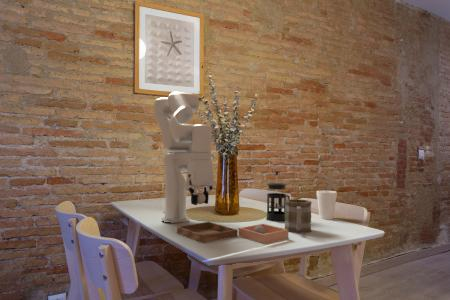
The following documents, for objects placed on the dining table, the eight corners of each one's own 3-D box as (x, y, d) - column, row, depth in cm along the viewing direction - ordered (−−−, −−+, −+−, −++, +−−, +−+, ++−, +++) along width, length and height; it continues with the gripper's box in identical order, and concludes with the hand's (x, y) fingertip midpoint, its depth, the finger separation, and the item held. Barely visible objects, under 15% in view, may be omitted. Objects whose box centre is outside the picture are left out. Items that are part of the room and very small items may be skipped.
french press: (261, 219, 160) (262, 171, 160) (270, 216, 168) (270, 170, 168) (285, 222, 154) (285, 172, 154) (292, 219, 162) (293, 171, 162)
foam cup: (316, 219, 162) (316, 192, 162) (316, 215, 171) (316, 190, 171) (337, 220, 160) (337, 193, 160) (335, 217, 169) (336, 190, 169)
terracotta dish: (238, 237, 127) (238, 228, 127) (262, 232, 136) (263, 223, 136) (263, 245, 117) (263, 235, 117) (288, 239, 126) (288, 229, 126)
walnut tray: (176, 234, 131) (176, 226, 131) (209, 228, 140) (209, 221, 140) (203, 244, 117) (203, 236, 117) (237, 237, 127) (237, 229, 127)
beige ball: (191, 203, 132) (192, 192, 132) (201, 202, 135) (201, 191, 135) (198, 205, 129) (198, 193, 129) (207, 204, 132) (208, 193, 131)
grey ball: (259, 235, 128) (259, 223, 128) (267, 237, 125) (268, 225, 125) (250, 237, 126) (251, 225, 126) (259, 239, 122) (259, 227, 122)
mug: (284, 226, 146) (284, 198, 146) (310, 228, 145) (310, 199, 145) (284, 235, 131) (284, 204, 131) (313, 237, 129) (313, 205, 129)
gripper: (212, 155, 139) (211, 200, 140) (177, 156, 129) (175, 204, 129) (224, 157, 134) (222, 203, 134) (188, 157, 123) (186, 207, 124)
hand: (199, 203), depth 132 cm, fingers closed on beige ball, 4 cm apart
